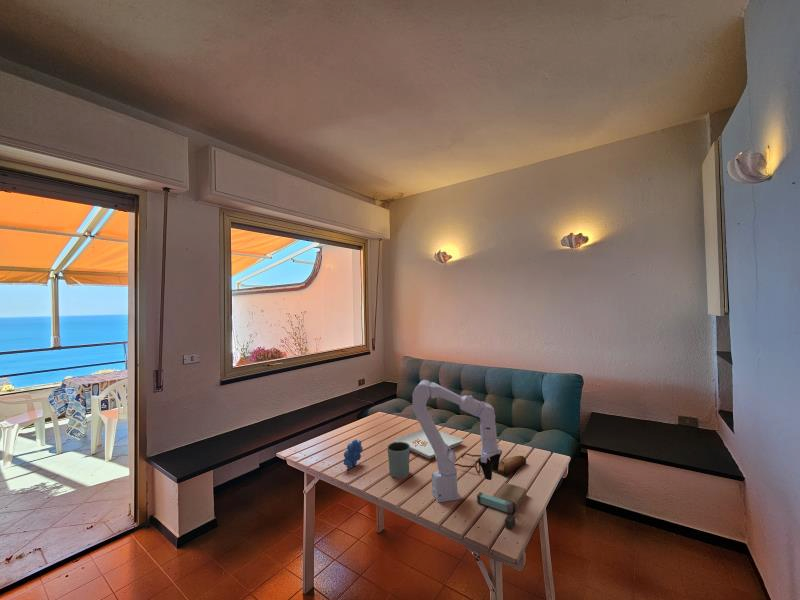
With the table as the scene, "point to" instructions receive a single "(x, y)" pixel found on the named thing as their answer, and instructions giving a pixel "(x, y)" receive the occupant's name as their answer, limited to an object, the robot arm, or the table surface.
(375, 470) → the table surface
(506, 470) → the sunglasses case
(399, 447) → the green cup
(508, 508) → the stool leg
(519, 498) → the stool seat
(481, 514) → the table surface
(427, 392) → the robot arm
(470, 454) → the glasses
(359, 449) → the grapes
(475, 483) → the table surface
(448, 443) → the square plate
